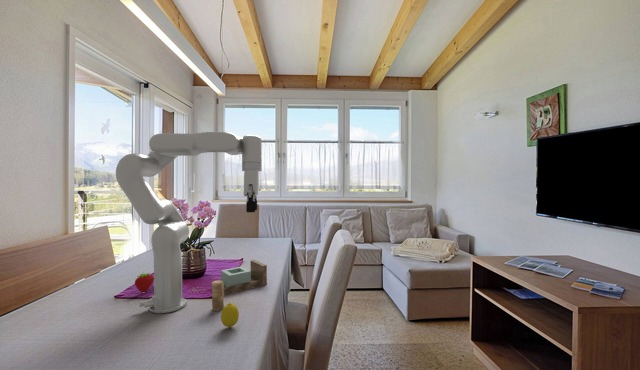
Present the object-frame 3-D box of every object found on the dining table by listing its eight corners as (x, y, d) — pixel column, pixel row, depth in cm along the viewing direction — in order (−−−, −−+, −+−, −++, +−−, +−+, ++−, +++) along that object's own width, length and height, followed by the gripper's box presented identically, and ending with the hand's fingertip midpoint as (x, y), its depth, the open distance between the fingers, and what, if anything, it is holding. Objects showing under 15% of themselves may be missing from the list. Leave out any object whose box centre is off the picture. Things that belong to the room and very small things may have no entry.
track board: (224, 294, 124) (224, 273, 124) (213, 286, 134) (213, 266, 134) (266, 284, 136) (266, 265, 136) (254, 277, 146) (254, 259, 146)
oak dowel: (214, 312, 107) (214, 284, 107) (210, 308, 110) (210, 282, 110) (225, 309, 109) (225, 282, 109) (221, 305, 113) (221, 279, 113)
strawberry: (157, 291, 128) (157, 268, 128) (139, 297, 121) (139, 273, 121) (149, 289, 131) (148, 267, 131) (131, 295, 124) (131, 271, 124)
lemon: (229, 333, 91) (228, 308, 91) (217, 329, 94) (217, 304, 94) (242, 326, 96) (242, 301, 96) (230, 322, 99) (230, 298, 99)
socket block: (229, 289, 127) (229, 275, 127) (221, 283, 135) (221, 270, 135) (250, 284, 133) (250, 271, 133) (241, 279, 141) (241, 266, 141)
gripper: (244, 168, 123) (244, 209, 123) (239, 165, 106) (239, 213, 106) (262, 168, 124) (262, 209, 124) (260, 166, 107) (260, 213, 107)
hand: (252, 211), depth 115 cm, fingers open, 9 cm apart
